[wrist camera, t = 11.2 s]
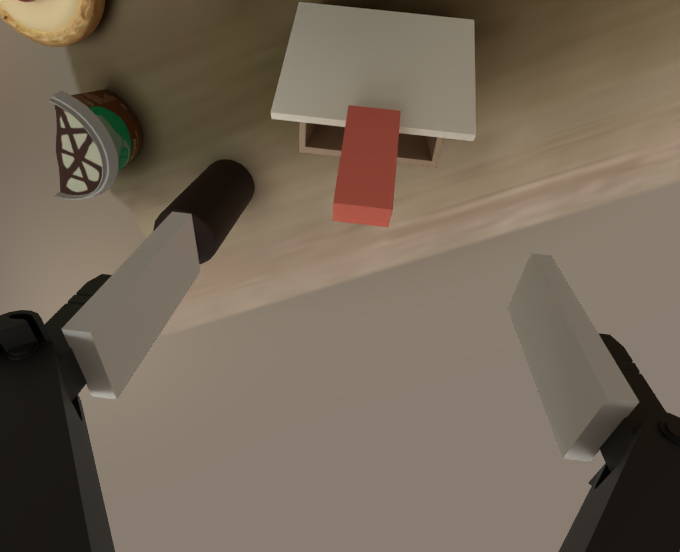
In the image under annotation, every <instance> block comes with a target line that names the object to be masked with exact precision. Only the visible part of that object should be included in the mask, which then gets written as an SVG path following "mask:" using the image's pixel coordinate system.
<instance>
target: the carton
mask: <svg viewBox="0 0 680 552" xmlns="http://www.w3.org/2000/svg"><path fill="white" fill-rule="evenodd" d="M344 131H345V127H341V126H332V125H323V124H314V123H305V122H300V132H299V152H303V153H312V154H321V155H330V156H338V157H341V150H342V144H343V138H344ZM442 142H443V138H440V137H431V136H422V135H413V134H404V133H399V139H398V151H397V163H400V164H409V165H418V166H427V167H435V168H437V164H438V160H439V155H440V151H441V147H442Z"/></svg>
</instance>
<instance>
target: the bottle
mask: <svg viewBox="0 0 680 552" xmlns="http://www.w3.org/2000/svg"><path fill="white" fill-rule="evenodd" d="M253 193H254V183H253V180H252V177H251V175H250V174H249V173H248V171H247V170H246V169H245V168H244V167H243V166H241V165H240V164H238V163H236V162H234V161H230V160H221V161H216V162H214V163H213V164H211V165H210V166H209V167H208V168H207V169H206V170H205V171H204V172H203V173H202V174H201V175H200V176H199V177H198V178H196V179H195V180H194V181H193V182H192V183H191V184H190V185H189V186H188V187H187V188H186V189H185V190H184V191H183V192H182V193H181V194H180V195H179V196H178V197H177V198H176V199H175V200H174V201H173V202H172V203H171V204H170V205H169V206H168V207H167V208H166V209H165V210H164V211H163V212H162V213H161V214H160V215H159V217H158V218H157V219H156V221H155V225H154V230H155V229H156V228H157V227H158V226H159V225H160V224H161V223H162V222H163V221H164V220H165V219H166V218H167V217H168V216H169V214H170V213H171V212H179V213H188V214H192V221H193V227H194V234H195V240H196V246H197V253H198V259H199V264H202V263H204V262H206V261H208V260H210V259H211V258H212V256H213V255H214V254H215V253H216V251H217V250H218V248H219V247H220V245H221V244H222V242H223V241H224V239H225V238H226V236H227V235H228V233H229V232H230V230H231V229H232V227H233V226H234V224H235V223H236V221H237V220H238V218H239V217H240V215H241V214H242V212H243V211H244V209H245V208H246V206H247V205H248V203H249V202H250V200H251V199H252V196H253ZM154 230H153V231H154Z"/></svg>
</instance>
